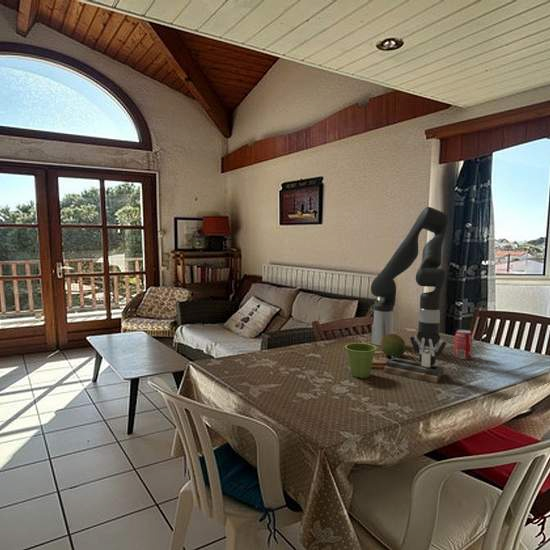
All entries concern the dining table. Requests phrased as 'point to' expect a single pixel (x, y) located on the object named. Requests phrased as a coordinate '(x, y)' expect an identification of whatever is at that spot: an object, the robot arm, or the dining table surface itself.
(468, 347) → the soda can
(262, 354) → the dining table surface
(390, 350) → the fruit
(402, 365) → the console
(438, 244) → the robot arm
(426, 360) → the fader knob
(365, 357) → the plant pot
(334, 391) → the dining table surface
